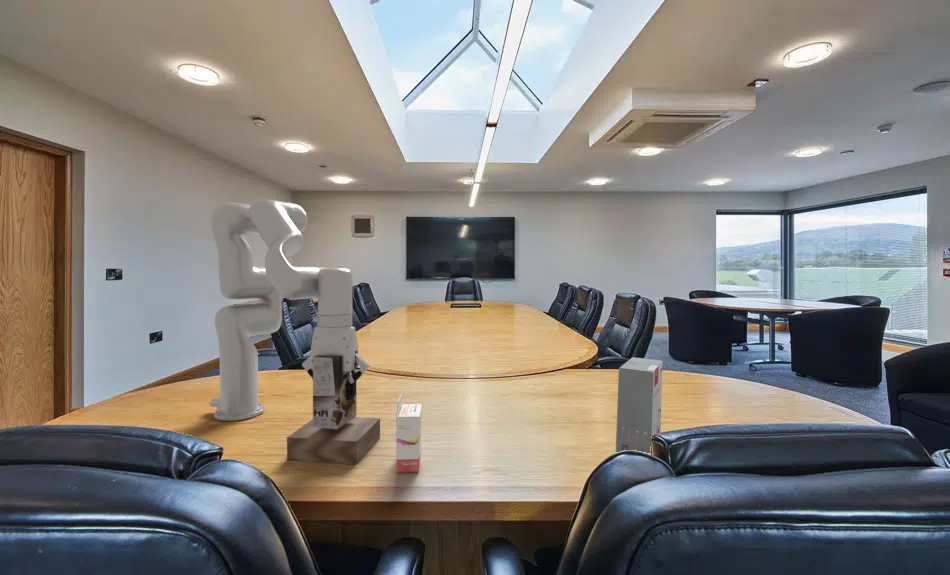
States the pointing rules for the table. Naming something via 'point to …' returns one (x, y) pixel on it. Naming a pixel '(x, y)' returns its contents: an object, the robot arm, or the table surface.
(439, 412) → the table surface
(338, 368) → the chocolate food box
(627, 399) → the hard drive box
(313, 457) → the walnut plinth
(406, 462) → the ink cartridge box
